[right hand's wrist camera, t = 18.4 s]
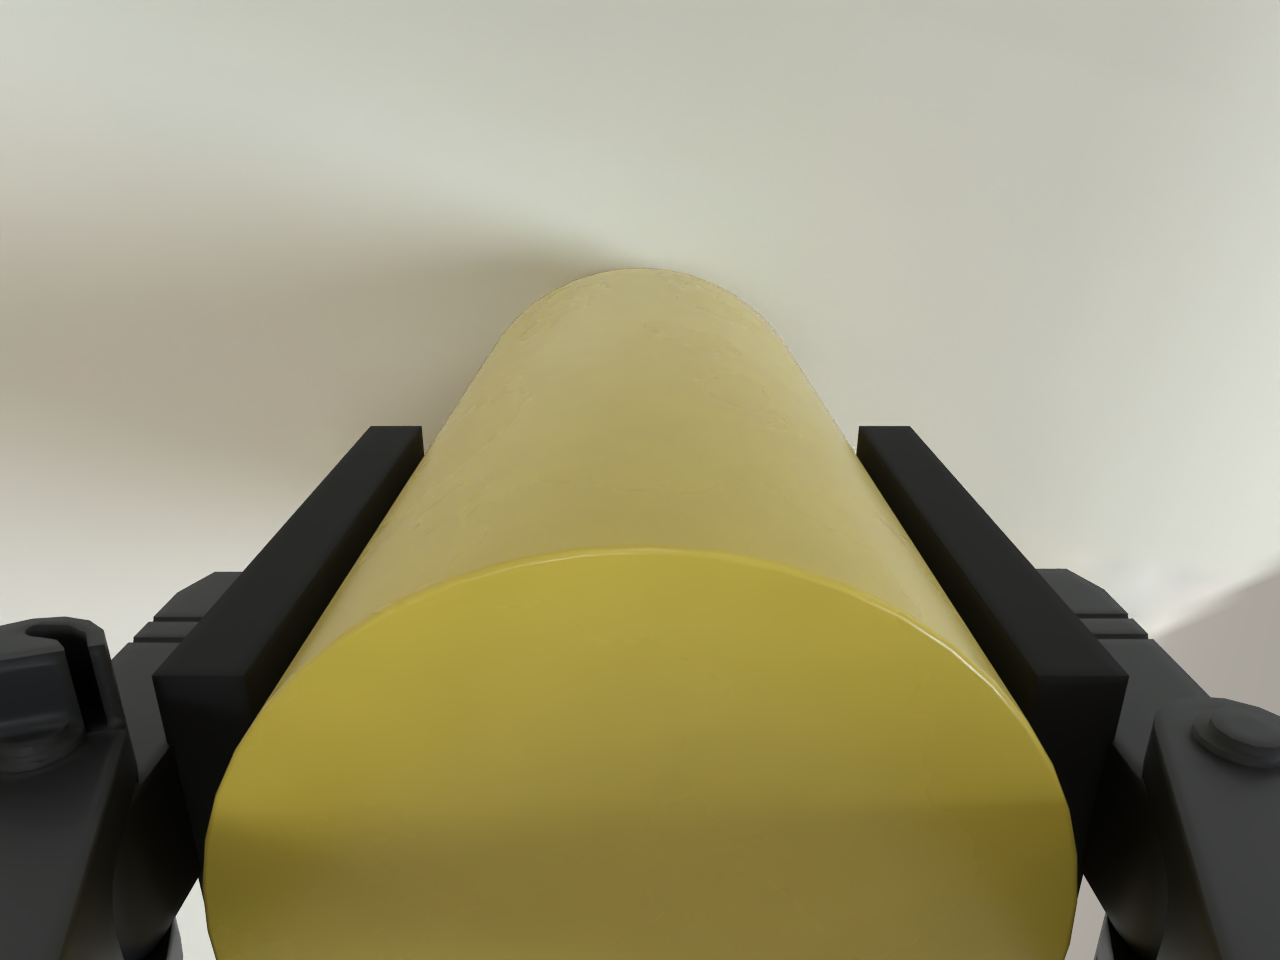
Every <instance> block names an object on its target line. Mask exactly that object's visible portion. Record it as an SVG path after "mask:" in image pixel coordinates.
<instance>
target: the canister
mask: <svg viewBox="0 0 1280 960" xmlns="http://www.w3.org/2000/svg"><path fill="white" fill-rule="evenodd" d="M203 896H204V904H205V913H206V921H207V930H208V934H209V937H210V940H211V944H212V947H213V951H214V954H215V957H216V960H1064V959H1065V956H1066V953H1067V950H1068V948H1069V945H1070V940H1071V934H1072V928H1073V922H1074V917H1075V911H1076V905H1077V850H1076V845H1075V839H1074V833H1073V828H1072V822H1071V817H1070V811H1069V807H1068V804H1067V802H1066V799H1065V796H1064V793H1063V791H1062V788H1061V785H1060V783H1059V780H1058V777H1057V774H1056V772H1055V769H1054V766H1053V764H1052V762H1051V760H1050V759H1049V757H1048V755H1047V753H1046V752H1045V750H1044V748H1043V747H1042V745H1041V743H1040V741H1039V740H1038V738H1037V736H1036V734H1035V733H1034V731H1033V729H1032V728H1031V726H1030V724H1029V722H1028V721H1027V719H1026V718H1025V716H1024V714H1023V713H1022V711H1021V710H1020V708H1019V707H1018V705H1017V704H1016V702H1015V701H1014V699H1013V697H1012V696H1011V694H1010V693H1009V691H1008V690H1007V688H1006V687H1005V685H1004V683H1003V682H1002V680H1001V679H1000V677H999V676H998V674H997V673H996V671H995V670H994V668H993V666H992V665H991V663H990V662H989V660H988V659H987V657H986V656H985V654H984V652H983V651H982V649H981V648H980V646H979V645H978V643H977V642H976V640H975V639H974V637H973V635H972V634H971V632H970V631H969V629H968V628H967V626H966V625H965V623H964V622H963V620H962V618H961V617H960V615H959V614H958V612H957V611H956V609H955V608H954V606H953V604H952V603H951V601H950V600H949V598H948V597H947V595H946V594H945V592H944V591H943V589H942V587H941V586H940V584H939V583H938V581H937V580H936V578H935V577H934V575H933V573H932V572H931V570H930V569H929V567H928V566H927V564H926V563H925V561H924V560H923V558H922V556H921V555H920V553H919V552H918V550H917V549H916V547H915V546H914V544H913V543H912V541H911V539H910V538H909V536H908V535H907V533H906V532H905V530H904V529H903V527H902V525H901V524H900V522H899V521H898V519H897V518H896V516H895V515H894V513H893V512H892V510H891V508H890V507H889V505H888V504H887V502H886V501H885V499H884V498H883V496H882V495H881V493H880V491H879V490H878V488H877V487H876V485H875V484H874V482H873V481H872V479H871V477H870V476H869V474H868V473H867V471H866V470H865V468H864V467H863V465H862V464H861V462H860V460H859V459H858V457H857V456H856V454H855V453H854V451H853V450H852V448H851V446H850V445H849V443H848V442H847V440H846V439H845V437H844V436H843V434H842V433H841V431H840V429H839V428H838V426H837V425H836V423H835V422H834V420H833V419H832V417H831V416H830V414H829V412H828V411H827V409H826V408H825V406H824V405H823V403H822V402H821V400H820V398H819V397H818V395H817V394H816V392H815V391H814V389H813V388H812V386H811V385H810V383H809V381H808V380H807V378H806V377H805V375H804V374H803V372H802V371H801V369H800V368H799V366H798V364H797V363H796V361H795V360H794V358H793V357H792V355H791V354H790V352H789V350H788V349H787V347H786V346H785V344H784V343H783V341H782V340H781V339H780V337H779V336H778V335H777V334H776V332H775V331H774V330H773V329H772V327H771V326H770V325H769V324H768V323H767V322H766V321H765V320H764V319H763V318H762V317H761V316H760V315H759V314H758V313H757V312H756V311H755V310H754V309H753V308H751V307H750V306H749V305H747V304H746V303H745V302H743V301H742V300H740V299H739V298H738V297H736V296H735V295H733V294H732V293H730V292H728V291H726V290H724V289H722V288H720V287H718V286H717V285H715V284H713V283H710V282H707V281H705V280H702V279H699V278H697V277H694V276H691V275H687V274H683V273H678V272H674V271H669V270H661V269H649V268H634V269H618V270H612V271H607V272H601V273H596V274H593V275H590V276H587V277H584V278H581V279H578V280H574V281H572V282H570V283H568V284H566V285H564V286H562V287H560V288H558V289H556V290H554V291H552V292H550V293H549V294H547V295H546V296H544V297H543V298H541V299H540V300H538V301H537V302H535V303H534V304H533V305H531V306H530V307H529V308H528V309H527V310H526V311H525V312H523V313H522V314H521V315H520V316H519V317H518V318H517V319H516V320H515V321H514V322H513V323H512V324H511V325H510V327H509V328H508V329H507V330H506V331H505V332H504V334H503V335H502V336H501V337H500V339H499V341H498V342H497V344H496V345H495V347H494V348H493V350H492V351H491V353H490V354H489V356H488V358H487V359H486V361H485V362H484V364H483V365H482V367H481V368H480V370H479V371H478V373H477V375H476V376H475V378H474V379H473V381H472V382H471V384H470V385H469V387H468V389H467V390H466V392H465V393H464V395H463V396H462V398H461V399H460V401H459V403H458V404H457V406H456V407H455V409H454V410H453V412H452V413H451V415H450V417H449V418H448V420H447V421H446V423H445V424H444V426H443V427H442V429H441V431H440V432H439V434H438V435H437V437H436V438H435V440H434V441H433V443H432V445H431V446H430V448H429V449H428V451H427V452H426V454H425V455H424V457H423V459H422V460H421V462H420V463H419V465H418V466H417V468H416V469H415V471H414V473H413V474H412V476H411V477H410V479H409V480H408V482H407V483H406V485H405V487H404V488H403V490H402V491H401V493H400V494H399V496H398V497H397V499H396V501H395V502H394V504H393V505H392V507H391V508H390V510H389V511H388V513H387V515H386V516H385V518H384V519H383V521H382V522H381V524H380V525H379V527H378V529H377V530H376V532H375V533H374V535H373V536H372V538H371V539H370V541H369V543H368V544H367V546H366V547H365V549H364V550H363V552H362V553H361V555H360V557H359V558H358V560H357V561H356V563H355V564H354V566H353V567H352V569H351V571H350V572H349V574H348V575H347V577H346V578H345V580H344V581H343V583H342V585H341V586H340V588H339V589H338V591H337V592H336V594H335V595H334V597H333V599H332V600H331V602H330V603H329V605H328V606H327V608H326V609H325V611H324V612H323V614H322V616H321V617H320V619H319V620H318V622H317V623H316V625H315V626H314V628H313V630H312V631H311V633H310V634H309V636H308V637H307V639H306V640H305V642H304V644H303V645H302V647H301V648H300V650H299V651H298V653H297V654H296V656H295V658H294V659H293V661H292V662H291V664H290V665H289V667H288V668H287V670H286V672H285V673H284V675H283V676H282V678H281V679H280V681H279V682H278V684H277V686H276V687H275V689H274V690H273V692H272V693H271V695H270V696H269V698H268V700H267V701H266V703H265V704H264V706H263V707H262V709H261V710H260V712H259V714H258V715H257V717H256V718H255V720H254V721H253V723H252V724H251V726H250V728H249V729H248V731H247V732H246V734H245V735H244V737H243V738H242V740H241V742H240V743H239V745H238V746H237V748H236V749H235V751H234V753H233V756H232V758H231V760H230V763H229V765H228V767H227V770H226V772H225V774H224V777H223V779H222V781H221V784H220V786H219V788H218V790H217V793H216V796H215V800H214V804H213V808H212V812H211V817H210V821H209V825H208V829H207V833H206V838H205V851H204V868H203Z"/></svg>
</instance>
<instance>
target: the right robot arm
mask: <svg viewBox="0 0 1280 960" xmlns="http://www.w3.org/2000/svg"><path fill="white" fill-rule="evenodd" d="M856 456H857V457H858V459H859V460H860V462H861V464H862V465H863V467H864V468H865V470H866V471H867V473H868V474H869V476H870V477H871V479H872V481H873V482H874V484H875V485H876V487H877V488H878V490H879V491H880V493H881V495H882V496H883V498H884V499H885V501H886V502H887V504H888V505H889V507H890V508H891V510H892V512H893V513H894V515H895V516H896V518H897V519H898V521H899V522H900V524H901V525H902V527H903V529H904V530H905V532H906V533H907V535H908V536H909V538H910V539H911V541H912V543H913V544H914V546H915V547H916V549H917V550H918V552H919V553H920V555H921V556H922V558H923V560H924V561H925V563H926V564H927V566H928V567H929V569H930V570H931V572H932V573H933V575H934V577H935V578H936V580H937V581H938V583H939V584H940V586H941V587H942V589H943V591H944V592H945V594H946V595H947V597H948V598H949V600H950V601H951V603H952V604H953V606H954V608H955V609H956V611H957V612H958V614H959V615H960V617H961V618H962V620H963V622H964V623H965V625H966V626H967V628H968V629H969V631H970V632H971V634H972V635H973V637H974V639H975V640H976V642H977V643H978V645H979V646H980V648H981V649H982V651H983V652H984V654H985V656H986V657H987V659H988V660H989V662H990V663H991V665H992V666H993V668H994V670H995V671H996V673H997V674H998V676H999V677H1000V679H1001V680H1002V682H1003V683H1004V685H1005V687H1006V688H1007V690H1008V691H1009V693H1010V694H1011V696H1012V697H1013V699H1014V701H1015V702H1016V704H1017V705H1018V707H1019V708H1020V710H1021V711H1022V713H1023V714H1024V716H1025V718H1026V719H1027V721H1028V722H1029V724H1030V726H1031V728H1032V729H1033V731H1034V733H1035V734H1036V736H1037V738H1038V740H1039V741H1040V743H1041V745H1042V747H1043V748H1044V750H1045V752H1046V753H1047V755H1048V757H1049V759H1050V760H1051V762H1052V764H1053V766H1054V769H1055V772H1056V774H1057V777H1058V780H1059V783H1060V785H1061V788H1062V791H1063V793H1064V796H1065V799H1066V802H1067V804H1068V807H1069V811H1070V817H1071V822H1072V828H1073V833H1074V839H1075V845H1076V850H1077V898H1078V894H1079V890H1080V885H1081V881H1082V877H1083V874H1084V876H1085V878H1086V880H1087V881H1088V883H1089V885H1090V886H1091V888H1092V890H1093V891H1094V893H1095V895H1096V897H1097V898H1098V900H1099V902H1100V903H1101V905H1102V907H1103V909H1104V910H1105V912H1106V913H1105V917H1104V921H1103V925H1102V929H1101V933H1100V937H1099V941H1098V945H1097V949H1096V953H1095V957H1094V960H1280V716H1278V715H1276V714H1273V713H1271V712H1269V711H1266V710H1264V709H1262V708H1259V707H1256V706H1252V705H1248V704H1244V703H1240V702H1236V701H1233V700H1229V699H1225V698H1212V697H1210V696H1209V695H1208V694H1207V693H1206V692H1205V691H1204V690H1203V689H1202V688H1201V687H1200V686H1199V685H1198V684H1197V683H1196V682H1195V681H1194V680H1193V679H1192V678H1191V677H1190V676H1189V675H1188V674H1187V673H1186V672H1185V671H1184V670H1183V669H1182V668H1181V667H1180V666H1179V665H1178V664H1177V663H1176V662H1175V661H1174V660H1173V659H1172V658H1171V657H1170V656H1169V655H1168V654H1167V653H1166V652H1165V651H1164V650H1163V649H1162V648H1161V647H1160V646H1159V645H1158V644H1157V643H1156V642H1155V641H1154V640H1153V639H1148V634H1147V633H1146V632H1145V631H1144V629H1143V628H1142V627H1141V626H1140V625H1139V624H1138V623H1137V622H1136V621H1135V620H1134V619H1128V613H1127V612H1126V611H1125V610H1124V609H1123V608H1122V607H1121V606H1120V605H1119V604H1118V603H1117V602H1116V601H1115V600H1114V599H1113V598H1112V597H1111V596H1110V595H1109V594H1108V593H1107V592H1106V591H1105V590H1104V589H1102V588H1100V587H1099V586H1097V585H1095V584H1093V583H1091V582H1089V581H1088V580H1086V579H1084V578H1082V577H1080V576H1078V575H1077V574H1075V573H1073V572H1071V571H1069V570H1068V569H1035V568H1034V567H1033V566H1032V564H1031V563H1030V562H1029V561H1028V560H1027V559H1026V558H1025V557H1024V555H1023V554H1022V553H1021V552H1020V551H1019V550H1018V549H1017V547H1016V546H1015V545H1014V544H1013V543H1012V542H1011V541H1010V540H1009V538H1008V537H1007V536H1006V535H1005V534H1004V533H1003V532H1002V530H1001V529H1000V528H999V527H998V526H997V525H996V524H995V522H994V521H993V520H992V519H991V518H990V517H989V516H988V515H987V513H986V512H985V511H984V510H983V509H982V508H981V507H980V505H979V504H978V503H977V502H976V501H975V500H974V499H973V497H972V496H971V495H970V494H969V493H968V492H967V491H966V490H965V488H964V487H963V486H962V485H961V484H960V483H959V482H958V480H957V479H956V478H955V477H954V476H953V475H952V474H951V472H950V471H949V470H948V469H947V468H946V467H945V466H944V465H943V463H942V462H941V461H940V460H939V459H938V458H937V457H936V455H935V454H934V453H933V452H932V451H931V450H930V449H929V447H928V446H927V445H926V444H925V443H924V442H923V441H922V440H921V438H920V437H919V436H918V435H917V434H916V433H915V432H914V430H913V429H912V428H911V427H910V426H859V433H858V444H857V454H856ZM423 457H424V448H423V437H422V426H371V427H370V428H369V429H368V430H367V431H366V432H365V433H364V435H363V436H362V437H361V438H360V439H359V440H358V441H357V442H356V444H355V445H354V446H353V447H352V448H351V449H350V450H349V452H348V453H347V454H346V455H345V456H344V457H343V458H342V460H341V461H340V462H339V463H338V464H337V465H336V466H335V467H334V469H333V470H332V471H331V472H330V473H329V474H328V475H327V477H326V478H325V479H324V480H323V481H322V482H321V483H320V485H319V486H318V487H317V488H316V489H315V490H314V491H313V492H312V494H311V495H310V496H309V497H308V498H307V499H306V500H305V502H304V503H303V504H302V505H301V506H300V507H299V508H298V510H297V511H296V512H295V513H294V514H293V515H292V516H291V517H290V519H289V520H288V521H287V522H286V523H285V524H284V525H283V527H282V528H281V529H280V530H279V531H278V532H277V533H276V535H275V536H274V537H273V538H272V539H271V540H270V541H269V542H268V544H267V545H266V546H265V547H264V548H263V549H262V550H261V552H260V553H259V554H258V555H257V556H256V557H255V558H254V560H253V561H252V562H251V563H250V564H249V565H248V566H247V568H246V569H245V570H244V571H243V572H214V573H212V574H210V575H208V576H207V577H205V578H203V579H201V580H199V581H197V582H196V583H194V584H192V585H190V586H188V587H187V588H185V589H183V590H181V591H179V592H178V593H177V594H176V595H175V596H174V597H173V598H172V599H171V600H170V601H169V602H168V603H167V604H166V605H165V606H164V607H163V608H162V609H161V610H160V611H159V612H158V613H157V614H156V615H155V616H154V620H153V622H148V623H147V624H146V625H145V626H144V627H143V628H142V629H141V630H140V631H139V632H138V633H137V634H136V635H135V636H134V641H133V643H128V644H127V645H126V646H125V647H124V648H123V649H122V650H121V651H120V652H119V653H118V654H117V655H116V656H115V657H114V658H113V659H112V660H111V658H110V654H109V650H108V646H107V642H106V638H105V634H104V630H103V629H101V628H100V627H98V626H97V625H95V624H94V623H93V622H91V621H90V620H83V619H77V618H70V617H52V618H36V619H29V620H25V621H20V622H16V623H11V624H6V625H2V626H0V960H183V952H182V945H181V937H180V933H179V929H178V925H177V921H176V917H175V916H176V915H177V913H178V911H179V909H180V908H181V906H182V904H183V903H184V901H185V899H186V897H187V896H188V894H189V892H190V891H191V889H192V887H193V885H194V884H195V882H196V880H197V879H198V878H199V883H200V887H201V891H202V895H203V868H204V851H205V838H206V833H207V829H208V825H209V821H210V817H211V812H212V808H213V804H214V800H215V796H216V793H217V790H218V788H219V786H220V784H221V781H222V779H223V777H224V774H225V772H226V770H227V767H228V765H229V763H230V760H231V758H232V756H233V753H234V751H235V749H236V748H237V746H238V745H239V743H240V742H241V740H242V738H243V737H244V735H245V734H246V732H247V731H248V729H249V728H250V726H251V724H252V723H253V721H254V720H255V718H256V717H257V715H258V714H259V712H260V710H261V709H262V707H263V706H264V704H265V703H266V701H267V700H268V698H269V696H270V695H271V693H272V692H273V690H274V689H275V687H276V686H277V684H278V682H279V681H280V679H281V678H282V676H283V675H284V673H285V672H286V670H287V668H288V667H289V665H290V664H291V662H292V661H293V659H294V658H295V656H296V654H297V653H298V651H299V650H300V648H301V647H302V645H303V644H304V642H305V640H306V639H307V637H308V636H309V634H310V633H311V631H312V630H313V628H314V626H315V625H316V623H317V622H318V620H319V619H320V617H321V616H322V614H323V612H324V611H325V609H326V608H327V606H328V605H329V603H330V602H331V600H332V599H333V597H334V595H335V594H336V592H337V591H338V589H339V588H340V586H341V585H342V583H343V581H344V580H345V578H346V577H347V575H348V574H349V572H350V571H351V569H352V567H353V566H354V564H355V563H356V561H357V560H358V558H359V557H360V555H361V553H362V552H363V550H364V549H365V547H366V546H367V544H368V543H369V541H370V539H371V538H372V536H373V535H374V533H375V532H376V530H377V529H378V527H379V525H380V524H381V522H382V521H383V519H384V518H385V516H386V515H387V513H388V511H389V510H390V508H391V507H392V505H393V504H394V502H395V501H396V499H397V497H398V496H399V494H400V493H401V491H402V490H403V488H404V487H405V485H406V483H407V482H408V480H409V479H410V477H411V476H412V474H413V473H414V471H415V469H416V468H417V466H418V465H419V463H420V462H421V460H422V459H423ZM203 900H204V896H203Z"/></svg>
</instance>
